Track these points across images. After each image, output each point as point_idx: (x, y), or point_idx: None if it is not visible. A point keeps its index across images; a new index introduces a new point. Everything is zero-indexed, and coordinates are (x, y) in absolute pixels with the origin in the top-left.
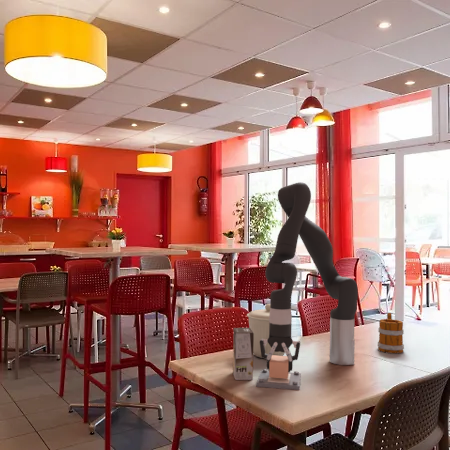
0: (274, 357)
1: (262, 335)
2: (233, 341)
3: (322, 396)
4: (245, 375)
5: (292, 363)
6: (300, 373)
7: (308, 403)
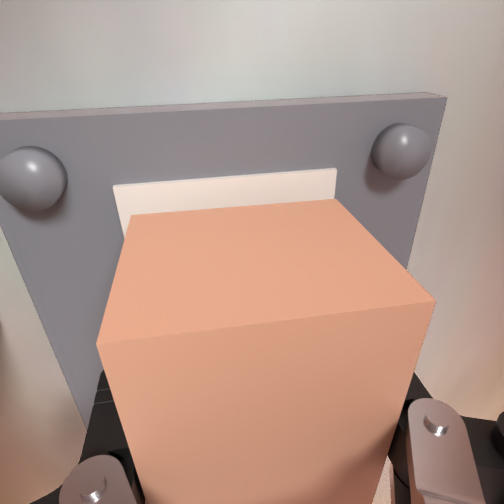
0: (182, 438)
1: None
2: None
3: (463, 402)
4: None
5: (413, 382)
6: (442, 99)
7: (383, 476)
